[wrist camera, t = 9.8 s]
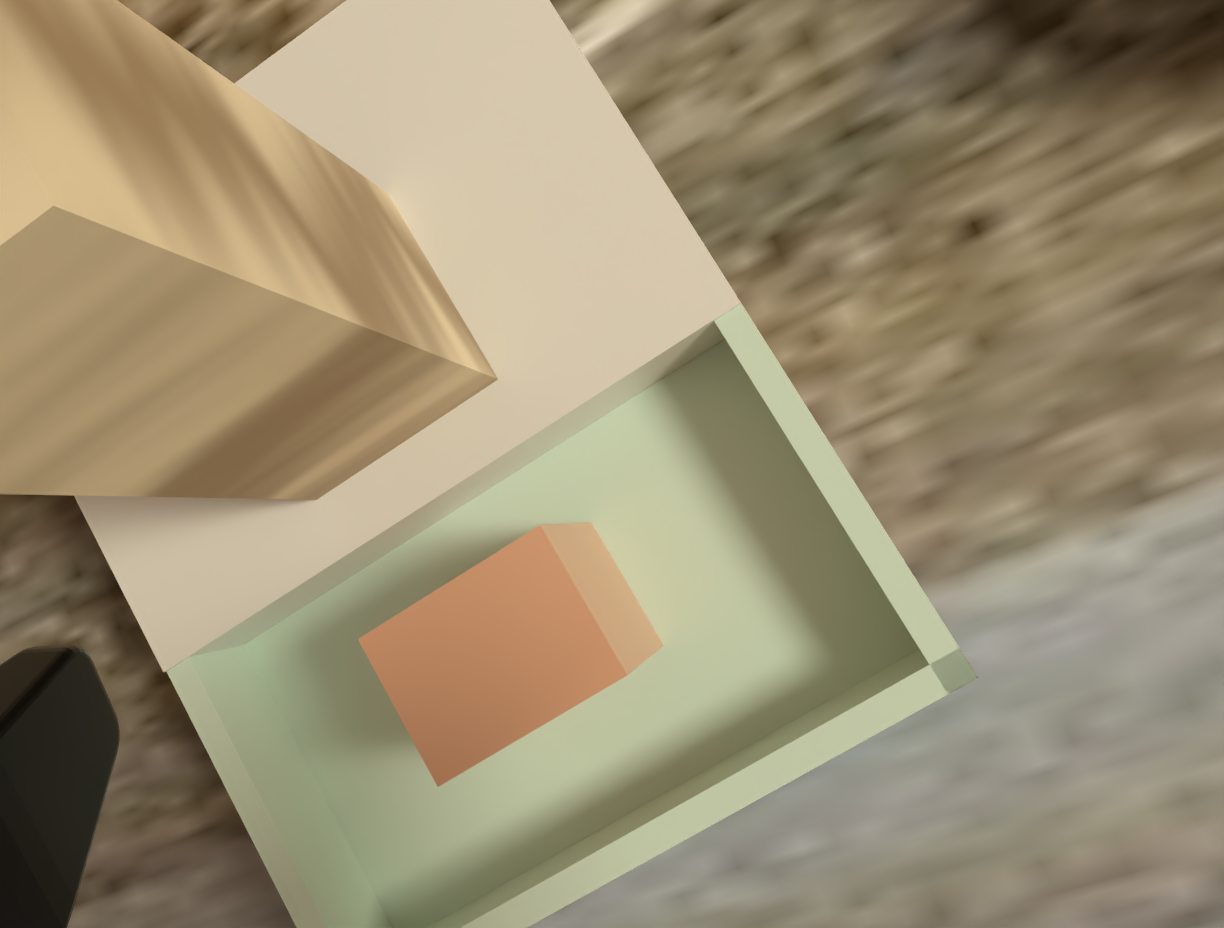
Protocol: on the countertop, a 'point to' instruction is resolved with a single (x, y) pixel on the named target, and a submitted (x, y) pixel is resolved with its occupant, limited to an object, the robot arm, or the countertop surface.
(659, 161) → the countertop surface
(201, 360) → the block
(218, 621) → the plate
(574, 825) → the tray
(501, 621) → the peach rectangular box
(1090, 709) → the countertop surface
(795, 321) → the countertop surface
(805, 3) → the countertop surface
